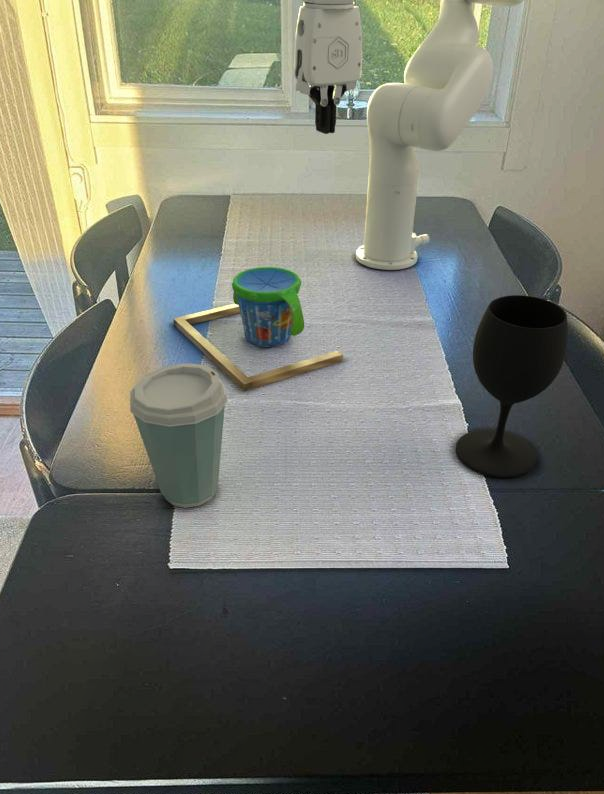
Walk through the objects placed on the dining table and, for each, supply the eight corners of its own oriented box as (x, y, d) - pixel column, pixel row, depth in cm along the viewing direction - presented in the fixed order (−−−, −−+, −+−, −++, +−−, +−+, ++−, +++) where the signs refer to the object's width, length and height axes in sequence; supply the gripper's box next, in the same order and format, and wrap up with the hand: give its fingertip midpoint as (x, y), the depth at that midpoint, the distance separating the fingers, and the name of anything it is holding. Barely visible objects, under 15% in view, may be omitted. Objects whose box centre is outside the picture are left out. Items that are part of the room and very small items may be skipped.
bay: (263, 302, 126) (263, 296, 125) (342, 361, 110) (343, 354, 109) (173, 324, 118) (172, 318, 118) (244, 391, 102) (243, 384, 101)
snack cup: (216, 327, 118) (212, 269, 111) (270, 313, 123) (268, 256, 116) (265, 366, 108) (264, 304, 101) (321, 349, 113) (323, 288, 106)
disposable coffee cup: (160, 530, 79) (142, 418, 69) (132, 477, 86) (113, 369, 77) (247, 503, 82) (241, 394, 73) (214, 454, 90) (204, 349, 81)
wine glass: (539, 440, 94) (577, 300, 81) (532, 486, 86) (572, 339, 73) (461, 425, 96) (487, 286, 84) (448, 468, 89) (473, 323, 76)
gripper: (299, -2, 97) (298, 142, 108) (385, -5, 103) (375, 131, 115) (272, -6, 102) (273, 132, 113) (355, -9, 108) (349, 122, 120)
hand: (325, 131), depth 114 cm, fingers closed
